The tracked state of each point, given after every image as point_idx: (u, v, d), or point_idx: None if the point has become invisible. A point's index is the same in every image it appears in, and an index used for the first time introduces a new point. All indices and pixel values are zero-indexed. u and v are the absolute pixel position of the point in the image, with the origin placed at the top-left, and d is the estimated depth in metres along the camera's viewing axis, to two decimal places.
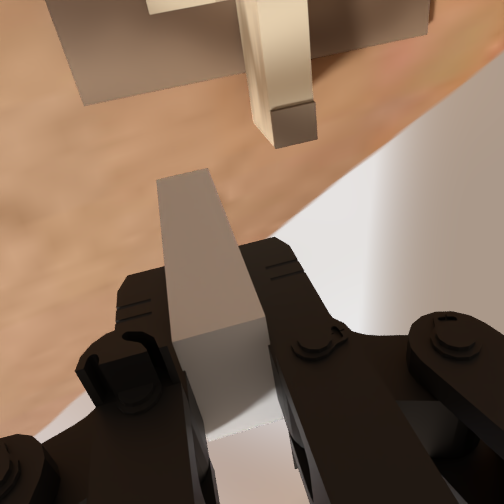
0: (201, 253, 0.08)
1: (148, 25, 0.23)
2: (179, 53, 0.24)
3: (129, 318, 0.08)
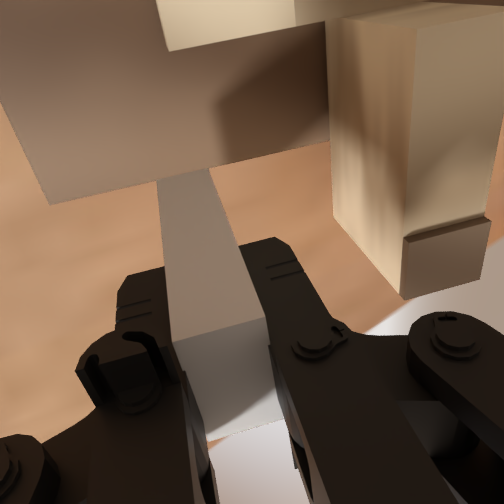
0: (201, 253, 0.08)
1: (164, 67, 0.12)
2: (218, 113, 0.14)
3: (129, 318, 0.08)
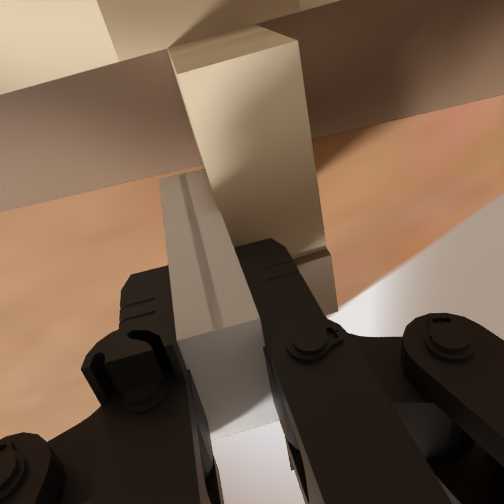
0: (204, 252, 0.08)
1: None
2: (56, 143, 0.13)
3: (133, 317, 0.08)
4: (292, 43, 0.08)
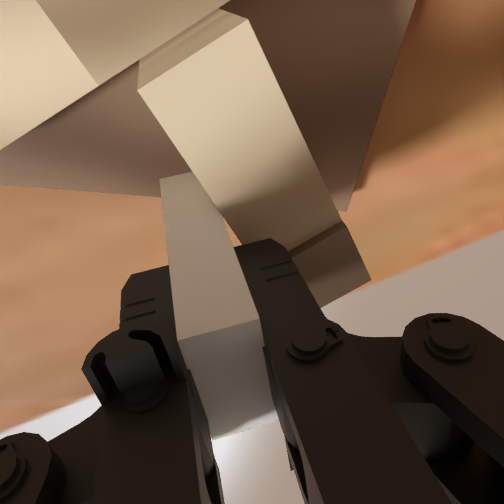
0: (205, 252, 0.08)
1: None
2: None
3: (133, 317, 0.08)
4: (243, 24, 0.08)
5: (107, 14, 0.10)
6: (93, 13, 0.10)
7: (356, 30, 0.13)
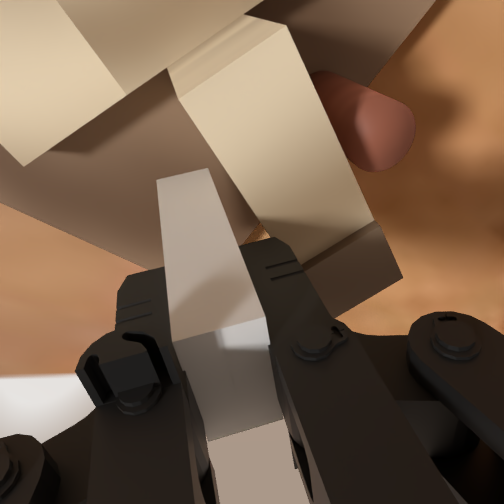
0: (201, 253, 0.08)
1: None
2: None
3: (129, 318, 0.08)
4: (281, 30, 0.08)
5: (135, 24, 0.10)
6: (121, 24, 0.10)
7: None
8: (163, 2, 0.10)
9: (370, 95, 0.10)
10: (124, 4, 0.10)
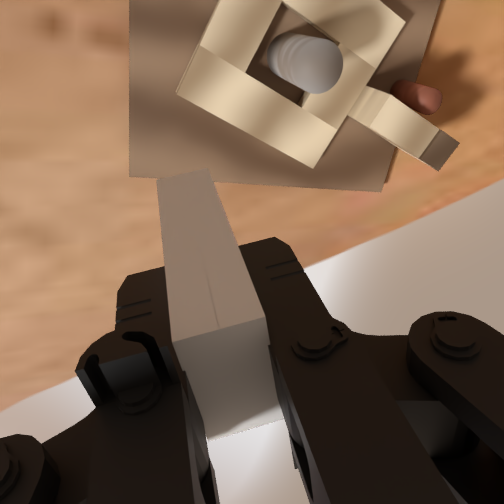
0: (201, 253, 0.08)
1: (194, 138, 0.32)
2: (209, 160, 0.33)
3: (129, 318, 0.08)
4: (389, 96, 0.28)
5: (334, 107, 0.32)
6: (331, 110, 0.32)
7: None
8: (341, 97, 0.31)
9: (420, 90, 0.30)
10: (330, 104, 0.31)
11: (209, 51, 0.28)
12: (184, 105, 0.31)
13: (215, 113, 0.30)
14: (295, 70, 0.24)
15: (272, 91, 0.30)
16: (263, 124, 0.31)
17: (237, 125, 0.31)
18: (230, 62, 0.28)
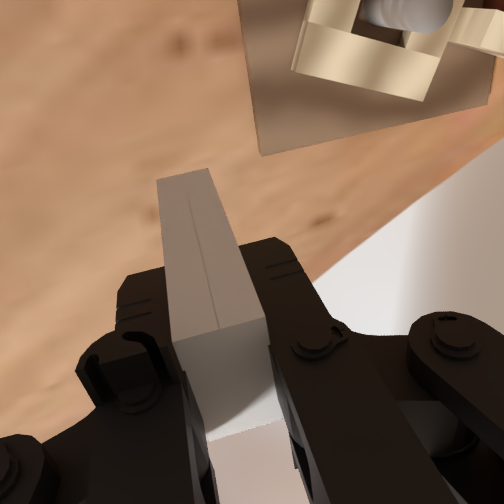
0: (201, 253, 0.08)
1: (311, 106, 0.35)
2: (327, 121, 0.36)
3: (129, 318, 0.08)
4: (495, 11, 0.29)
5: (435, 38, 0.33)
6: (432, 41, 0.33)
7: None
8: None
9: None
10: (430, 36, 0.33)
11: (317, 24, 0.31)
12: (298, 79, 0.34)
13: (330, 78, 0.33)
14: (411, 17, 0.27)
15: (376, 41, 0.32)
16: (372, 74, 0.34)
17: (350, 83, 0.34)
18: (336, 28, 0.31)
